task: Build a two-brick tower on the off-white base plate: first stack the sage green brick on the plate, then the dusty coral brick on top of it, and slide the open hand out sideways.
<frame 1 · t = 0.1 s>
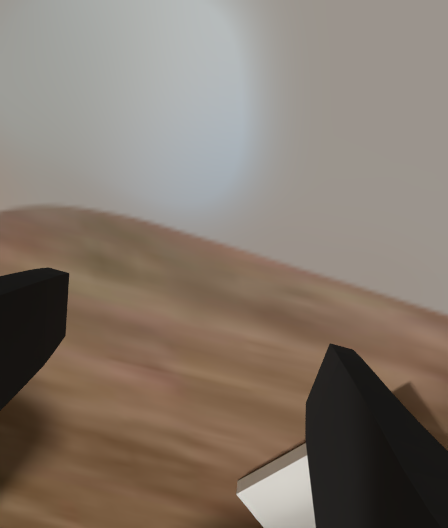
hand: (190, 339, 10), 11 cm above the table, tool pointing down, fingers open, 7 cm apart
base plate: (362, 506, 22), on the table
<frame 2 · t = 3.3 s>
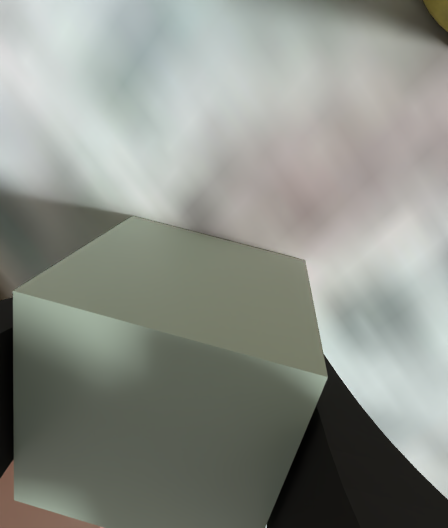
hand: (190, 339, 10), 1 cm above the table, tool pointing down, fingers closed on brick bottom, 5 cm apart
brick top: (63, 489, 15), on the table
brick bottom: (200, 313, 11), on the table, touching gripper
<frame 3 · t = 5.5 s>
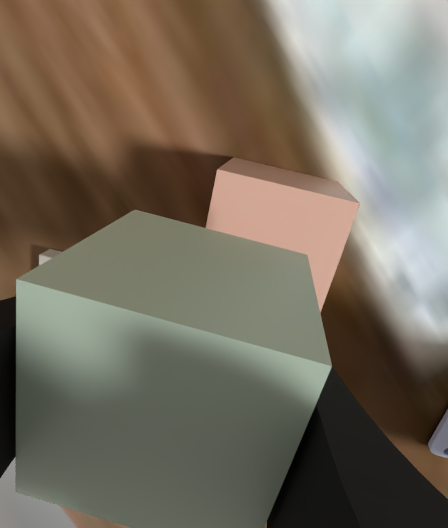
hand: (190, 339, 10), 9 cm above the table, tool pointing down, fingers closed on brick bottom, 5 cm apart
brick top: (271, 219, 18), on the table
brick bottom: (202, 308, 11), point 8 cm above the table, touching gripper
when the fingers open (3 cm above the table, at t = 7.8 s): brick bottom stays where it is, resting on base plate.
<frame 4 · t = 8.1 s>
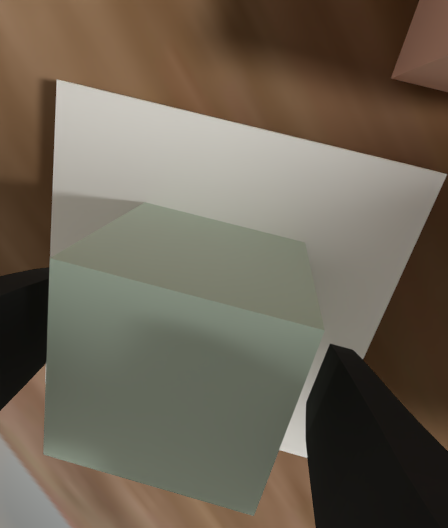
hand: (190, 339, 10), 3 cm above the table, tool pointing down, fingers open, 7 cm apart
base plate: (211, 286, 13), on the table
brick bottom: (208, 293, 12), point 1 cm above the table, touching base plate
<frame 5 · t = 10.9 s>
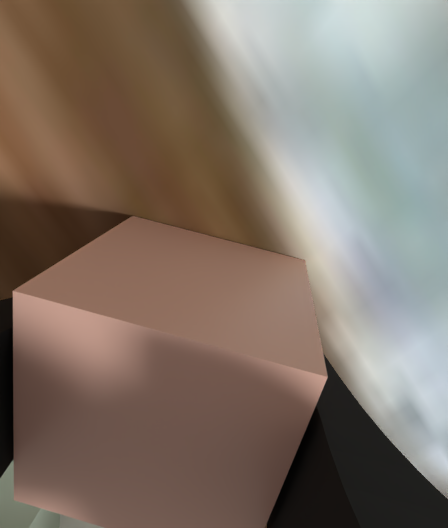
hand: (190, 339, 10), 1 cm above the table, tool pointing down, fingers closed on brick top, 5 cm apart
base plate: (16, 478, 15), on the table
brick top: (200, 313, 11), on the table, touching gripper
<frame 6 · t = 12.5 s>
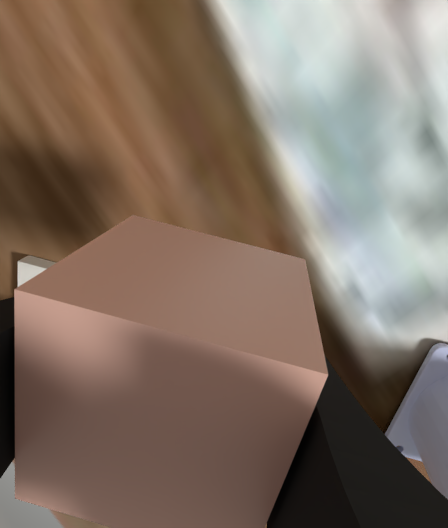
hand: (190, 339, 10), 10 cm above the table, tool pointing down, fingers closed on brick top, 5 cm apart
base plate: (108, 354, 23), on the table
brick top: (200, 312, 11), point 9 cm above the table, touching gripper
when the fingers open (8 cm above the table, at t = 14.4 s): brick top stays where it is, resting on brick bottom.
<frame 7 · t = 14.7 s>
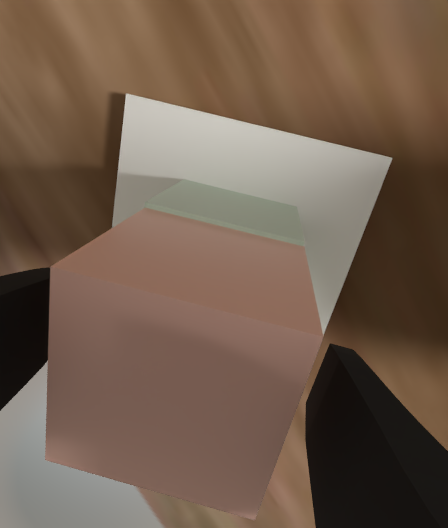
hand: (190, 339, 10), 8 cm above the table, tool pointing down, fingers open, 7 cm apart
base plate: (229, 243, 18), on the table
brick top: (208, 298, 12), point 6 cm above the table, touching brick bottom
brick bottom: (227, 246, 17), point 1 cm above the table, touching base plate, brick top
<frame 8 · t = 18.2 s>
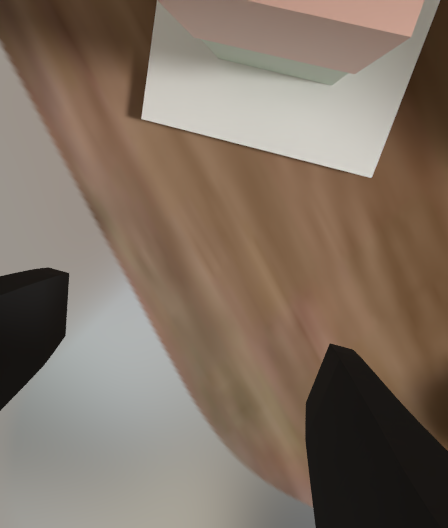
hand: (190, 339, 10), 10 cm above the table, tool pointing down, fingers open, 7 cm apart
base plate: (289, 16, 16), on the table
brick bottom: (291, 3, 15), point 1 cm above the table, touching base plate, brick top
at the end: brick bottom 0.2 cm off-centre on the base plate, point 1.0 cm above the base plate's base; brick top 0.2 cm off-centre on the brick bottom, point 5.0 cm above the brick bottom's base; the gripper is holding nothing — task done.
